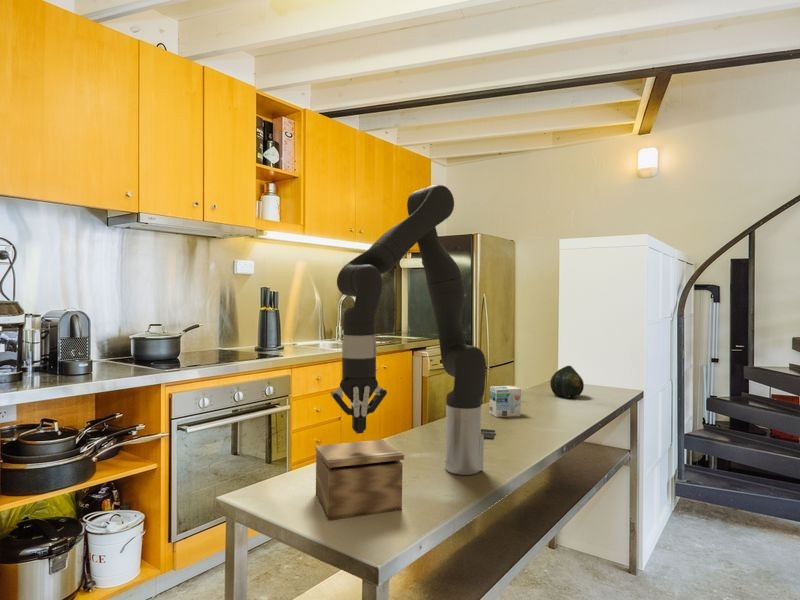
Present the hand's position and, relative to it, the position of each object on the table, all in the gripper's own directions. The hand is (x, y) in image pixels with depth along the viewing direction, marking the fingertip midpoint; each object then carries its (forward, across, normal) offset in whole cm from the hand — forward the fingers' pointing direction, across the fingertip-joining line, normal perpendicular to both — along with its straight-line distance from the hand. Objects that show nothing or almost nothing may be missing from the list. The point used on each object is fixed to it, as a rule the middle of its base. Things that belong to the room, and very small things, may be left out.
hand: (358, 432), depth 110 cm
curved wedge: (+17, -52, -39) cm, 67 cm away
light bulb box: (+17, -76, -60) cm, 98 cm away
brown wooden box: (+16, 0, 0) cm, 16 cm away
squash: (+17, -123, -82) cm, 149 cm away
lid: (+5, 0, 0) cm, 5 cm away
